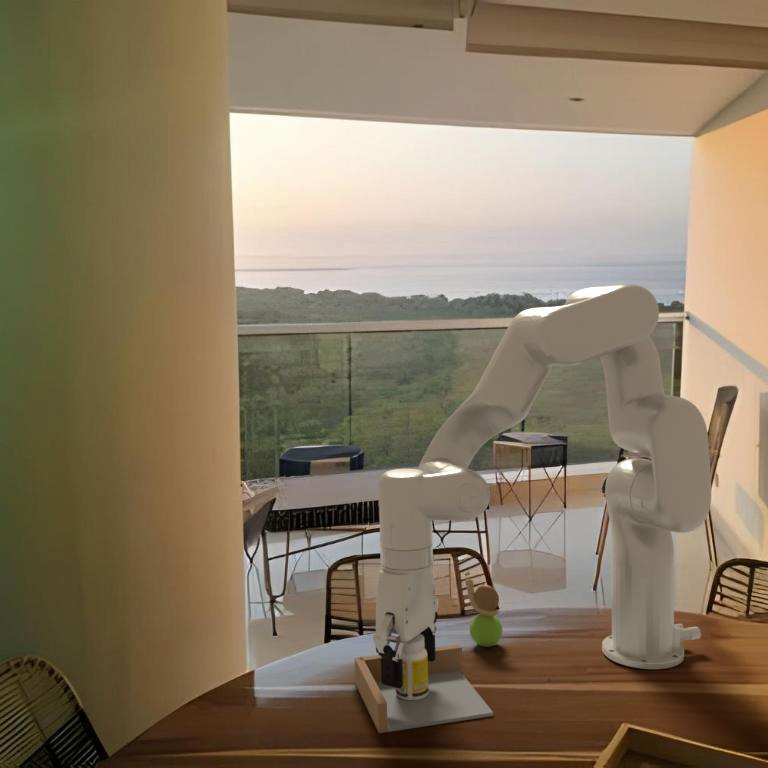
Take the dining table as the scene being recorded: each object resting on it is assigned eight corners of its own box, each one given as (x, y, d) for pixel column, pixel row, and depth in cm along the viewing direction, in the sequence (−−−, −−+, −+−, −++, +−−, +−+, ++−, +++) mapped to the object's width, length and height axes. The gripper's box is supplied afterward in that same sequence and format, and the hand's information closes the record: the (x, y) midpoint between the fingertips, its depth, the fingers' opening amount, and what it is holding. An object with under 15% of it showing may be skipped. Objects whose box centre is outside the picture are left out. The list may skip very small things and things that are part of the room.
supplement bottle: (430, 687, 117) (429, 631, 116) (426, 702, 112) (425, 645, 111) (398, 685, 117) (397, 630, 117) (392, 700, 113) (391, 643, 112)
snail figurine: (475, 635, 137) (473, 567, 136) (508, 643, 133) (507, 573, 132) (459, 646, 132) (457, 576, 132) (493, 654, 129) (491, 582, 128)
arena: (459, 669, 124) (459, 644, 123) (496, 715, 109) (496, 687, 109) (355, 683, 120) (354, 657, 119) (378, 733, 105) (378, 704, 105)
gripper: (413, 538, 122) (415, 645, 124) (351, 569, 108) (354, 690, 109) (456, 544, 119) (458, 655, 120) (399, 577, 104) (402, 703, 105)
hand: (409, 672), depth 114 cm, fingers open, 9 cm apart
